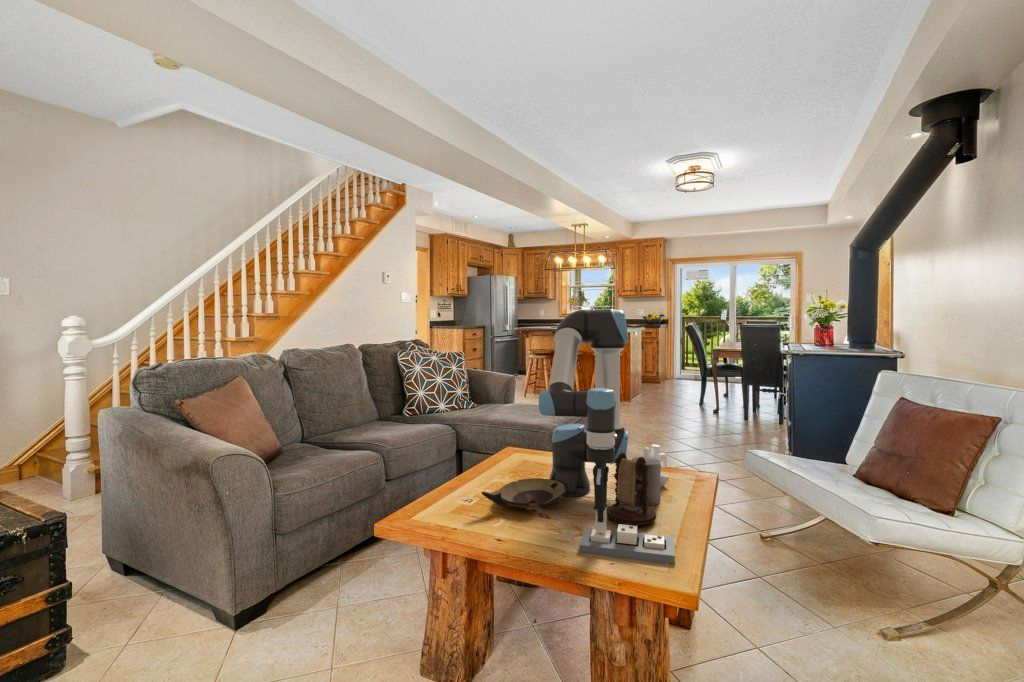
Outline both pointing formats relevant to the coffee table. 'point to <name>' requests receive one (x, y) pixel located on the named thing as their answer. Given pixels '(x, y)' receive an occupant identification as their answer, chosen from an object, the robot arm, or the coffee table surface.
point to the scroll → (631, 493)
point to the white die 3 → (654, 541)
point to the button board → (628, 548)
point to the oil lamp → (527, 493)
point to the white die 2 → (627, 534)
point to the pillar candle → (651, 480)
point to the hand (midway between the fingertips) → (600, 532)
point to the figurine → (659, 456)
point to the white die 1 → (601, 536)
